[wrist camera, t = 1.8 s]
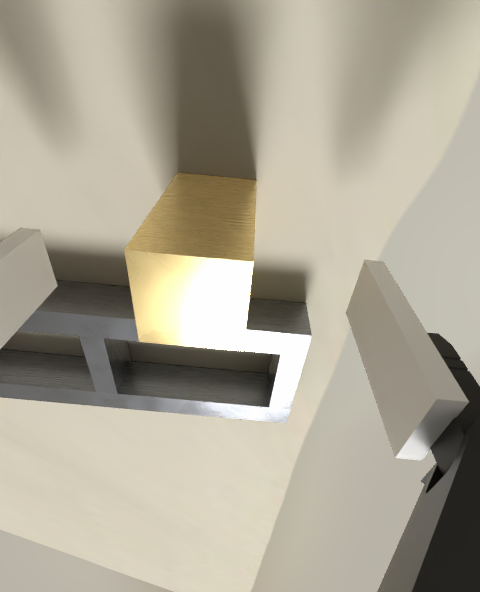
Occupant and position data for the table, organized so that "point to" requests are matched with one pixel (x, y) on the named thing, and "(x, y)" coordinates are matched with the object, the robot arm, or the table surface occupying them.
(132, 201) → the table surface
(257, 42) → the table surface
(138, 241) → the brushed brass bar
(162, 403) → the rack frame
